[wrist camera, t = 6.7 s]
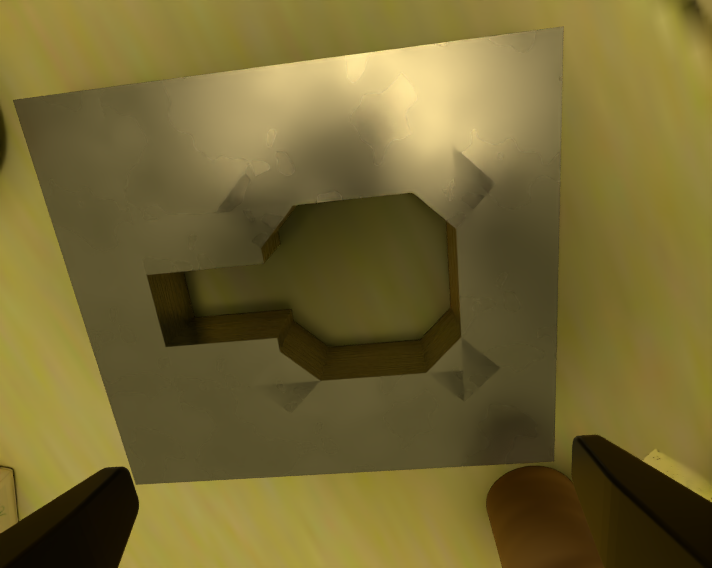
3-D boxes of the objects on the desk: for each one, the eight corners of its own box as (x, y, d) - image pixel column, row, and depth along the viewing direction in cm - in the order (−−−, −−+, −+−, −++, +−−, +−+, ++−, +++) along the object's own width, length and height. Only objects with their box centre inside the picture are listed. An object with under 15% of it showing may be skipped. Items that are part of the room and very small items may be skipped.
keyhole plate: (533, 42, 17) (563, 26, 14) (532, 418, 22) (554, 461, 19) (68, 103, 19) (12, 99, 16) (165, 441, 24) (135, 484, 21)
